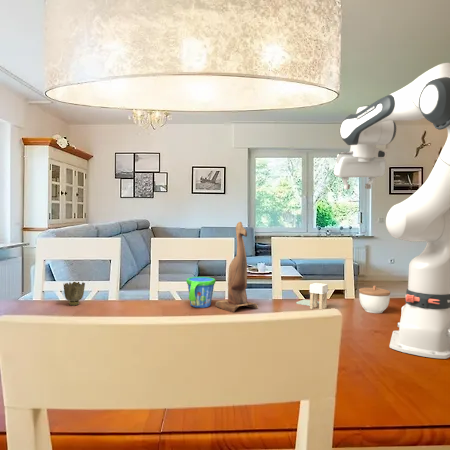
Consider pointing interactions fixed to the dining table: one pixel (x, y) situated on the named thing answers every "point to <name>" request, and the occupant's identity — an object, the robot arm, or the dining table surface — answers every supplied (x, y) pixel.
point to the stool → (322, 291)
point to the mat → (304, 302)
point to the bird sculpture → (237, 276)
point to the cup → (74, 292)
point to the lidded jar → (374, 299)
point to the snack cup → (200, 291)
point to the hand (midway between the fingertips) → (357, 188)
